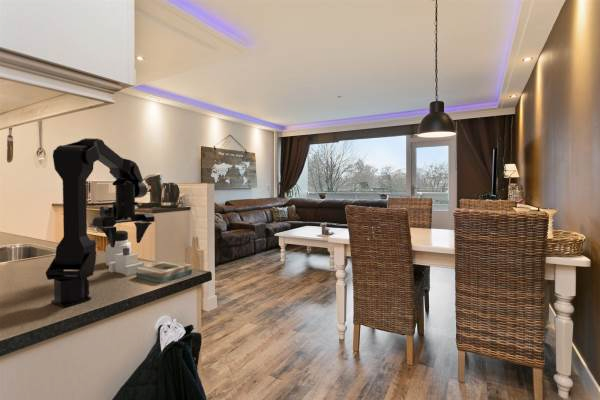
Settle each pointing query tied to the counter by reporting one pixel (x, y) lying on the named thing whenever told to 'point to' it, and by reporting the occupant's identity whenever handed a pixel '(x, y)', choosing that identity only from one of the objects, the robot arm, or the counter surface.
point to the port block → (163, 271)
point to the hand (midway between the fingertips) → (125, 245)
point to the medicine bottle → (117, 246)
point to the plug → (124, 260)
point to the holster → (126, 268)
